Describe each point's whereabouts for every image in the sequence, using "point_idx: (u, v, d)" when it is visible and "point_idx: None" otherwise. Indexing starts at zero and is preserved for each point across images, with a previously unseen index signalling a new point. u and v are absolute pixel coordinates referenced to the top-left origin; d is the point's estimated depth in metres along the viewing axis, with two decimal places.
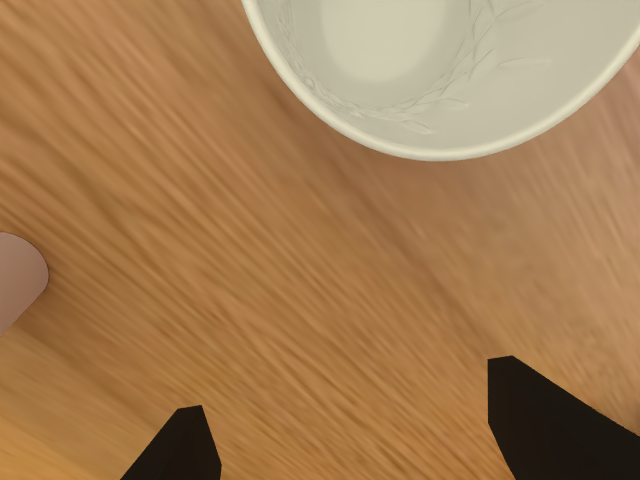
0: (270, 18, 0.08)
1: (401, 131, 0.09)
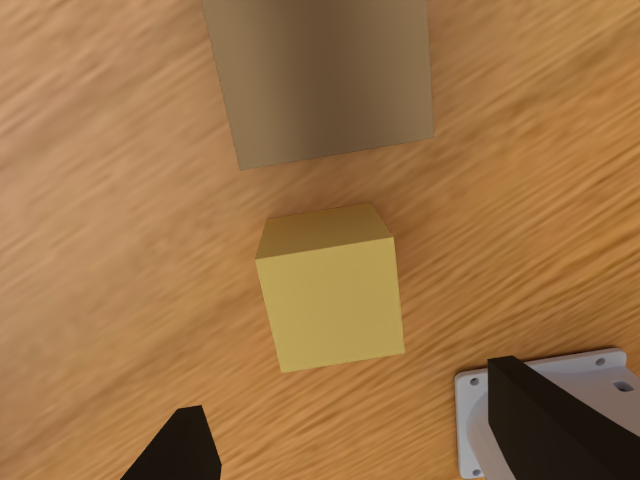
0: None
1: None
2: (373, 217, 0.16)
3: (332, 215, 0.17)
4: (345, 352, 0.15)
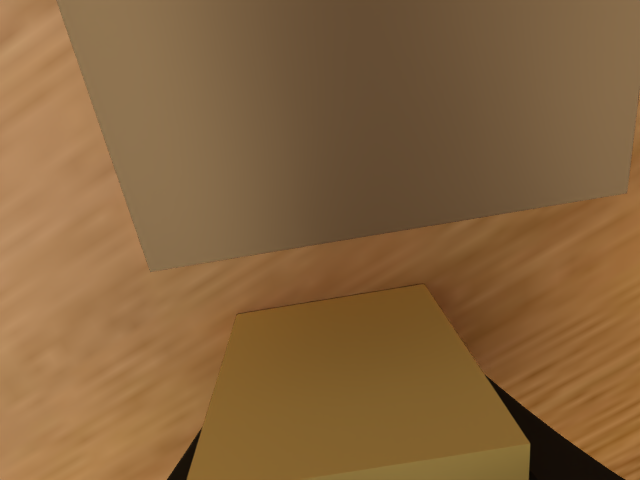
0: None
1: None
2: (447, 340, 0.08)
3: (358, 320, 0.09)
4: None
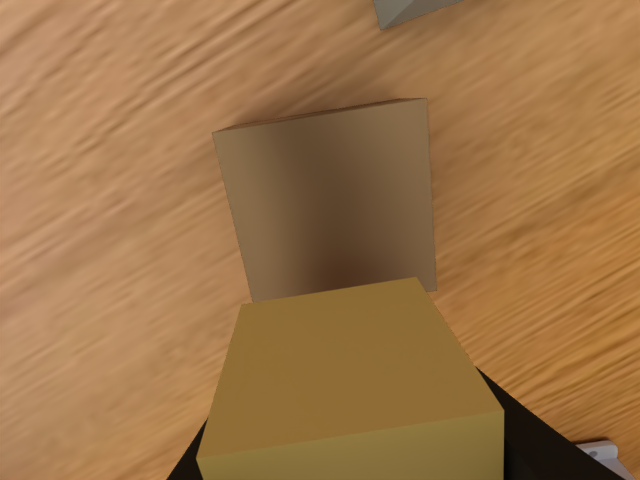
0: None
1: None
2: (435, 326, 0.09)
3: (354, 309, 0.10)
4: None
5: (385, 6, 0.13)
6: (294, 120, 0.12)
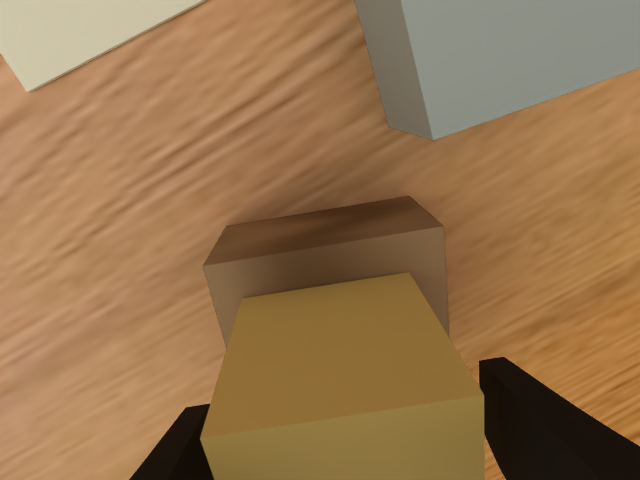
0: None
1: None
2: (424, 318, 0.09)
3: (349, 302, 0.10)
4: None
5: (395, 113, 0.12)
6: (295, 251, 0.11)
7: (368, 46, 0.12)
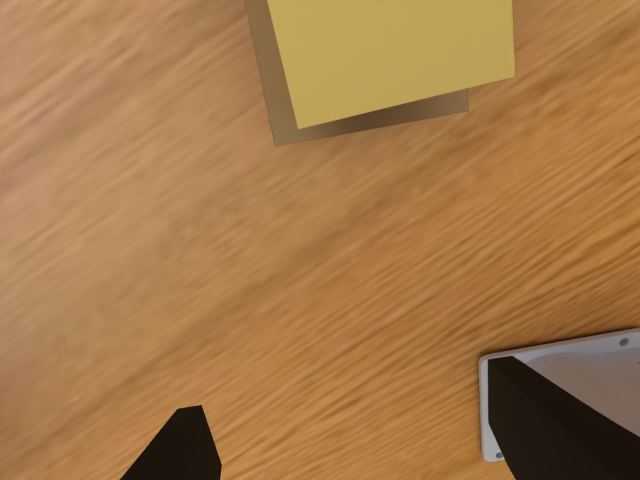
0: None
1: None
2: None
3: None
4: (410, 80, 0.09)
5: None
6: None
7: None
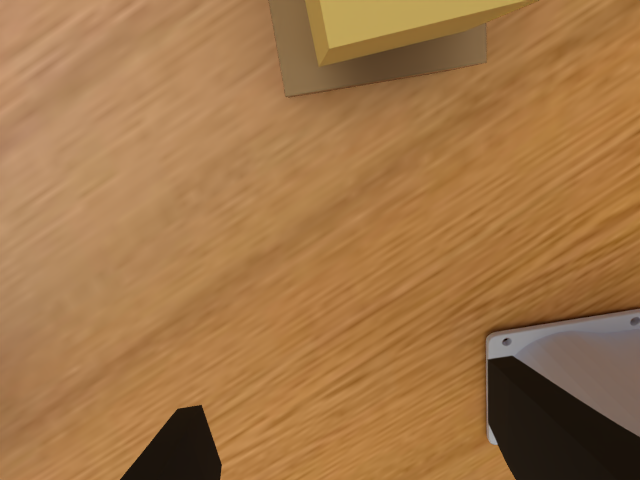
0: None
1: None
2: None
3: None
4: None
5: None
6: None
7: None
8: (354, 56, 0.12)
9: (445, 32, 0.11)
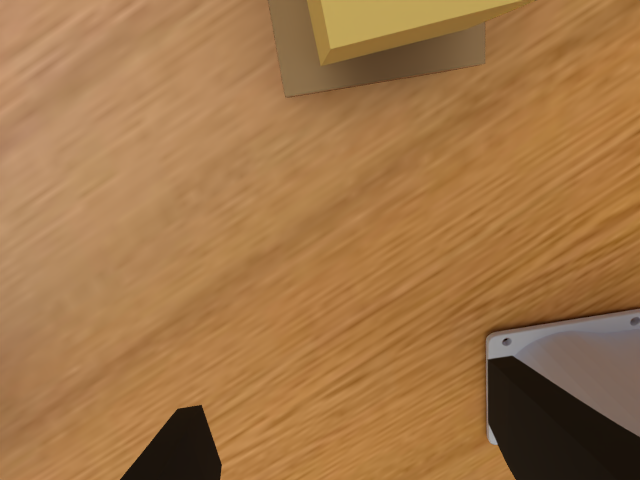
0: None
1: None
2: None
3: None
4: None
5: None
6: None
7: None
8: (356, 55, 0.12)
9: (447, 30, 0.11)
